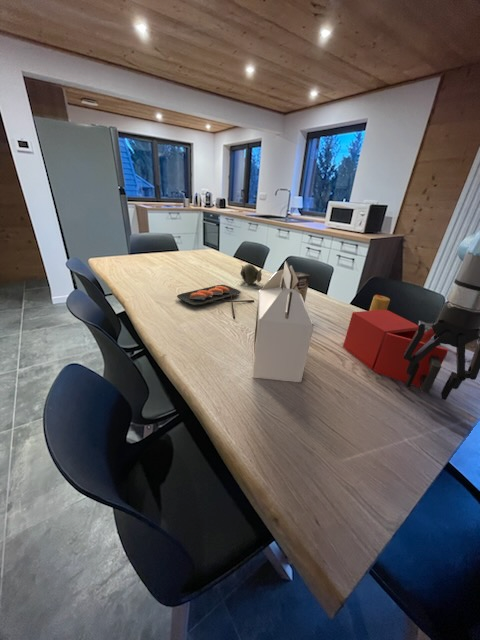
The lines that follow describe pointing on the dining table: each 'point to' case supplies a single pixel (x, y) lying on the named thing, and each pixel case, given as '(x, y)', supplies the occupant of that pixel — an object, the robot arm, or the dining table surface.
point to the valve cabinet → (374, 333)
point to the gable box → (281, 329)
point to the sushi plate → (210, 295)
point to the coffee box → (302, 283)
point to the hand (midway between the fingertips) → (425, 390)
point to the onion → (427, 335)
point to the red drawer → (396, 365)
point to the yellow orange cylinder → (379, 303)
